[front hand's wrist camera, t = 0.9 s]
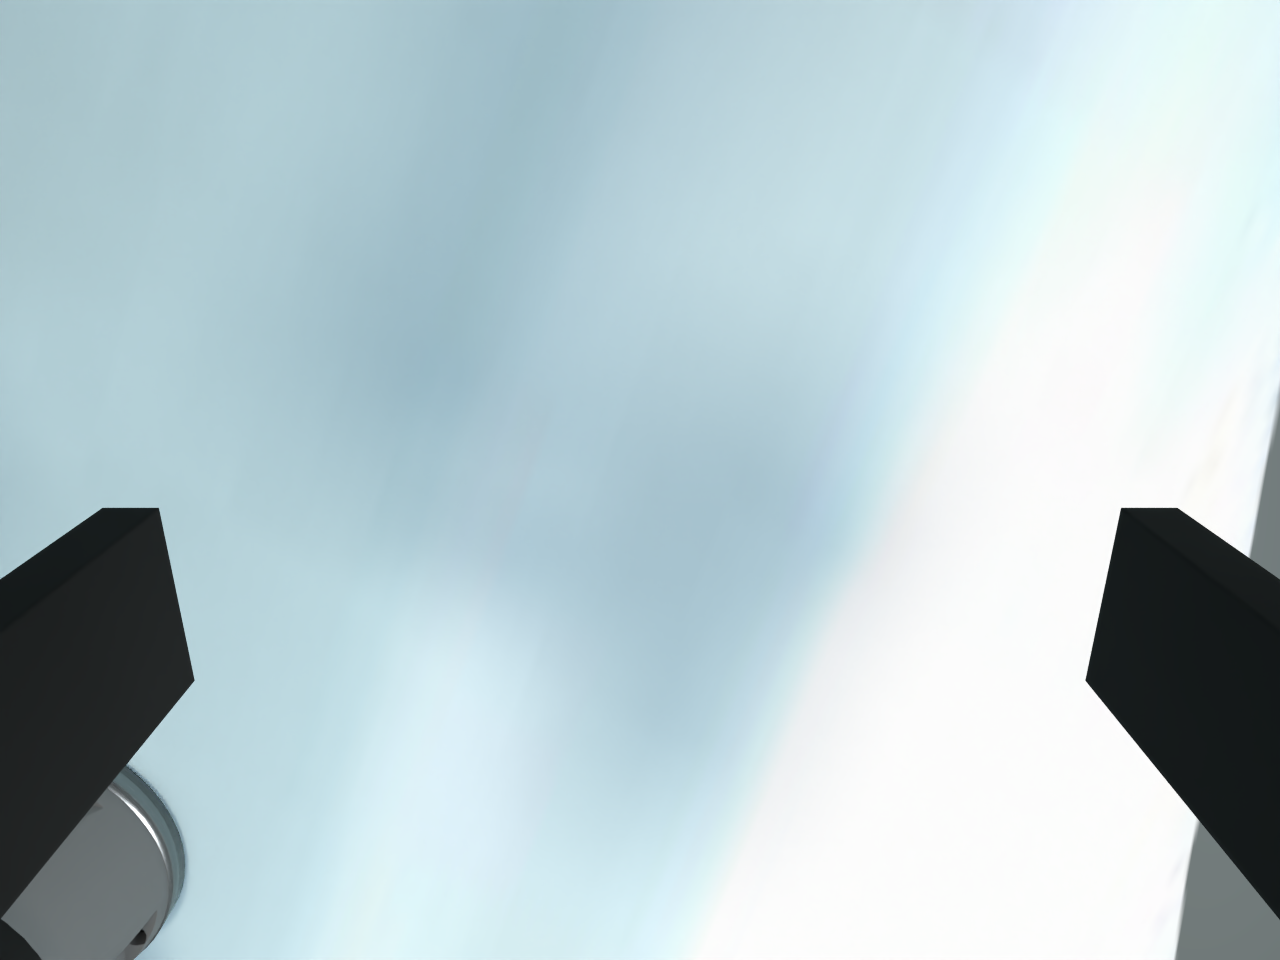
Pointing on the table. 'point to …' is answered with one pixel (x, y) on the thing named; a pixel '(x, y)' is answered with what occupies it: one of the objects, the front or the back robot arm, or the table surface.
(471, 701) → the table surface
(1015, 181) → the table surface
